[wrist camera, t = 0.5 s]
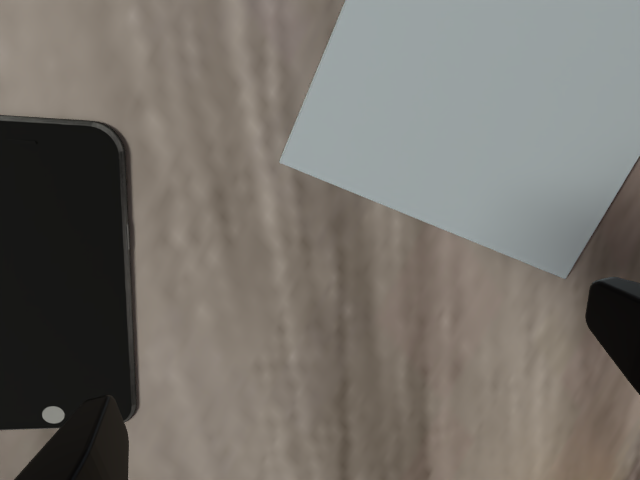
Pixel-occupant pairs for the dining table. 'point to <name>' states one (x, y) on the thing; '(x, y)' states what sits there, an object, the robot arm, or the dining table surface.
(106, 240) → the smartphone
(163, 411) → the dining table surface
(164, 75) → the dining table surface
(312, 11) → the dining table surface
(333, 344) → the dining table surface
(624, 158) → the mat
